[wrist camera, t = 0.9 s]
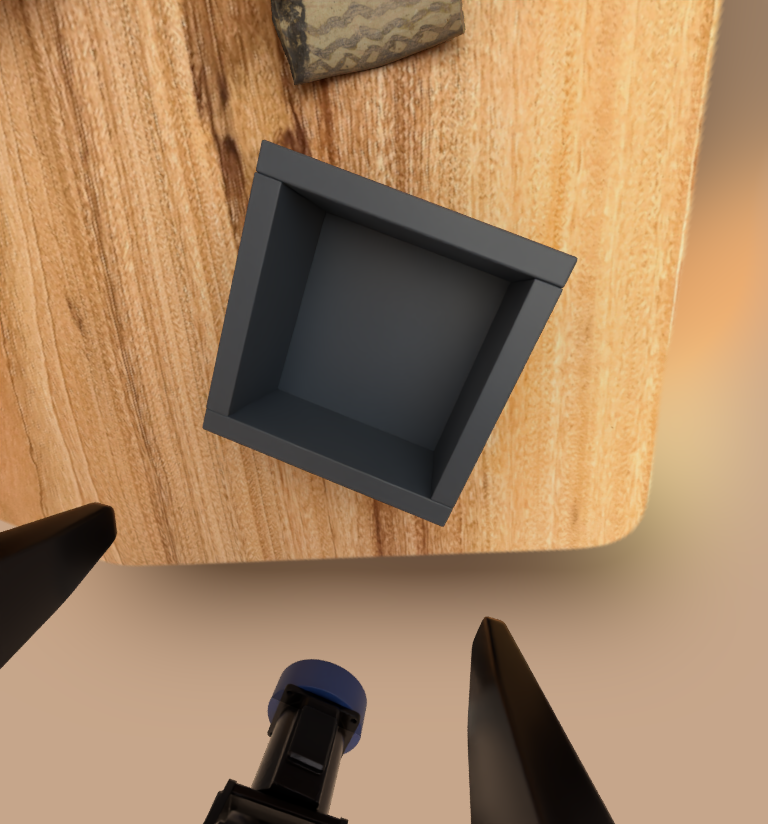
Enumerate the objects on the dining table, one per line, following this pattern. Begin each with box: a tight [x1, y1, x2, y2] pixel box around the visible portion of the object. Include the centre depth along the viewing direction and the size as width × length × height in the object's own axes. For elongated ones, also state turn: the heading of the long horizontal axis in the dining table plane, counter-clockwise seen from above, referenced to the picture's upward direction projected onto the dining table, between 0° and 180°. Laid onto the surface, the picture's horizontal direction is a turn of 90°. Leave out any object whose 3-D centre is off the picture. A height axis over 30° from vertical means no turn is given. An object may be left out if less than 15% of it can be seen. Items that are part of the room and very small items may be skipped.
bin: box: [203, 140, 577, 527], centre depth 17 cm, size 11×11×6 cm
